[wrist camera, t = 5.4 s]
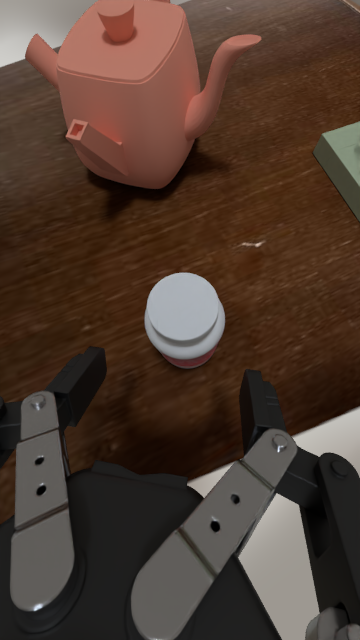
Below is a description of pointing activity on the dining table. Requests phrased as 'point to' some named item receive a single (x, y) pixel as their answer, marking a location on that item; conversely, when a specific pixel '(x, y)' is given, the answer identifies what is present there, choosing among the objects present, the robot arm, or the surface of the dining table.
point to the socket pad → (342, 162)
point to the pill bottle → (184, 319)
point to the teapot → (134, 88)
